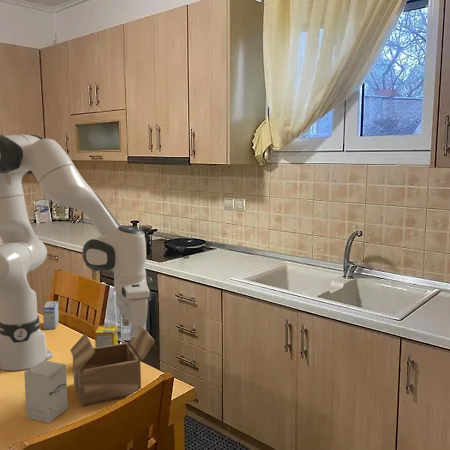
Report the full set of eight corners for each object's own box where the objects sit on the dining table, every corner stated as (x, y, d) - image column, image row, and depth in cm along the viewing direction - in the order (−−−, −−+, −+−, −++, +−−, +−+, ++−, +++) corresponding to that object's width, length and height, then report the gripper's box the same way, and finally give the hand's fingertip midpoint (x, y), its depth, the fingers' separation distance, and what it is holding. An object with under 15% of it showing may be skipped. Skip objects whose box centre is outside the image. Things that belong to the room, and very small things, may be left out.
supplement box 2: (118, 357, 158) (117, 325, 157) (114, 365, 153) (113, 332, 151) (100, 357, 158) (99, 325, 157) (95, 365, 152) (94, 332, 151)
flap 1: (71, 350, 138) (70, 349, 138) (86, 334, 139) (85, 333, 139) (79, 370, 126) (77, 369, 126) (95, 352, 127) (93, 351, 127)
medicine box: (47, 322, 189) (46, 301, 188) (59, 321, 190) (58, 300, 189) (43, 329, 182) (42, 307, 180) (55, 329, 183) (54, 307, 181)
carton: (74, 383, 140) (72, 351, 139) (128, 373, 147) (127, 342, 145) (81, 407, 128) (80, 371, 126) (141, 394, 134) (140, 360, 133)
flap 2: (140, 324, 146) (141, 325, 146) (128, 341, 145) (130, 342, 145) (153, 340, 134) (155, 341, 134) (141, 359, 133) (142, 359, 133)
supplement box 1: (48, 424, 120) (46, 376, 118) (25, 417, 122) (22, 370, 120) (68, 409, 126) (66, 363, 124) (46, 403, 129) (44, 359, 127)
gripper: (110, 275, 144) (110, 320, 146) (128, 295, 126) (128, 345, 128) (131, 274, 147) (131, 317, 149) (151, 293, 128) (151, 342, 131)
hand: (129, 330), depth 138 cm, fingers open, 8 cm apart
